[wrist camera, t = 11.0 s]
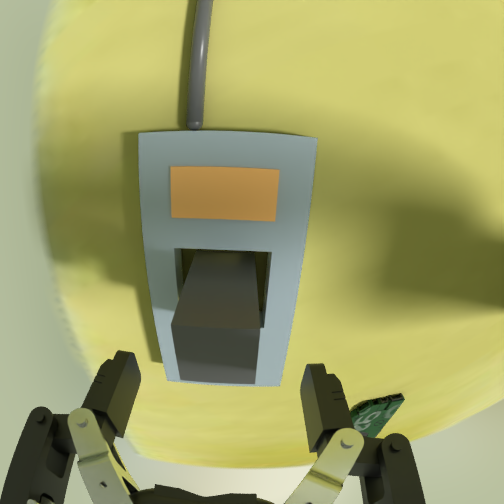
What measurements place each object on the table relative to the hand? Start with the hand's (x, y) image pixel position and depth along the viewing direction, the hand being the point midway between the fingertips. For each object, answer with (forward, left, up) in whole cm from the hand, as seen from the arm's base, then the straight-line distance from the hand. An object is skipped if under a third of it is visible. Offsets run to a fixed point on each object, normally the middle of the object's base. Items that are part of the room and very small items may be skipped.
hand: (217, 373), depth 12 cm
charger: (0, 0, -9) cm, 9 cm away
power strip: (0, -7, -9) cm, 11 cm away
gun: (-18, +25, -10) cm, 32 cm away
